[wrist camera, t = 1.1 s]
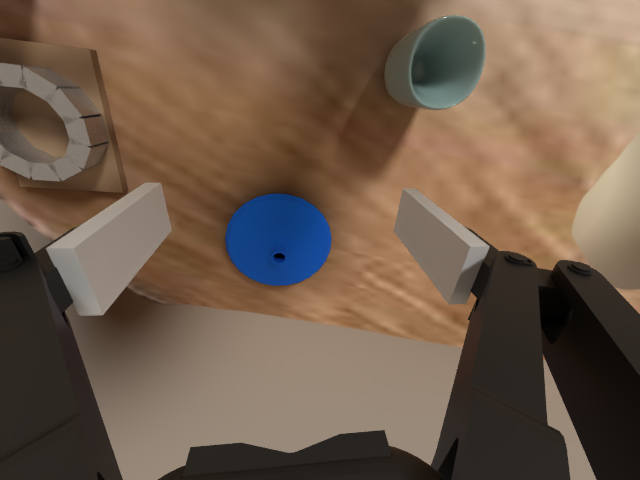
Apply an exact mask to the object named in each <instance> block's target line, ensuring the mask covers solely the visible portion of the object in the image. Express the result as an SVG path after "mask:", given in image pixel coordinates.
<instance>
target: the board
mask: <svg viewBox="0 0 640 480" xmlns="http://www.w3.org/2000/svg"><path fill="white" fill-rule="evenodd" d="M0 63H7V64H17V65H25V66H34V67H42V68H48V69H51V70H53V71H55V72H56V73H58V74H59V75H61V76H63V77H64V78H66V79H68V80H69V81H71V82H73V83H74V84H76V85H78V86H79V89H83V91H84V92H85V93H86V95H87V96H88V97H89V98H90V100H91V101H92V102H93V103H94V105H95V106H96V107H97V109H98V110H99V111H100V112H101V114H100V115H98V116H103V119H104V123H105V127H106V131H107V136H108V140H109V141H108V142H107V143H109V144H108V147H107V149H106V152H105V154H104V157H103V160H102V162H101V163H100V164H99V165H97V166H95V167H93V168H91V169H89V170H87V171H85V172H84V173H81V174H79V175H76V176H74V177H71V178H69V179H66V180H64V181H45V180H33V179H32V178H31V179H29V178H27V177H25V176H22V175H20V174H18V173H16V172H14V173H15V175H16V177H17V180H18V182H19V185H20V187H33V188H50V189H66V190H83V191H100V192H116V193H124V192H126V191H127V190H128V188H127V184H126V180H125V175H124V171H123V166H122V162H121V158H120V153H119V149H118V145H117V140H116V136H115V132H114V127H113V123H112V119H111V114H110V110H109V106H108V101H107V97H106V92H105V88H104V84H103V79H102V75H101V71H100V66H99V62H98V58H97V53H96V51H95V50H90V49H84V48H76V47H68V46H60V45H53V44H45V43H37V42H30V41H22V40H14V39H6V38H0ZM11 112H12V115H13V117H14V120H15V123H16V125H17V128H18V130H19V131H20V132H21V133H22V134H23V135H24V136H25V137H26V139H27V140H28V141H29V142H30V143H31V144H32V145H33V146H34V147H36V148H38V149H40V150H42V151H44V152H46V153H48V154H50V155H52V156H60V157H64V156H65V154H66V151H67V147H68V144H69V141H70V140H69V136H68V133H67V130H66V127H65V123H64V121H63V119H62V118H61V117H60V116H59V115H58V114H57V112H56V111H55V110H54V109H53V108H52V107H51V105H50V104H49V103H48V102H47V101H45V100H44V99H42V98H40V97H38V96H37V95H35V94H33V93H31V92H30V91H28V90H26V89H24V90H22V91H21V92H19V93H17V94H16V95H15V97H14V101H13V105H12V109H11Z"/></svg>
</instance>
